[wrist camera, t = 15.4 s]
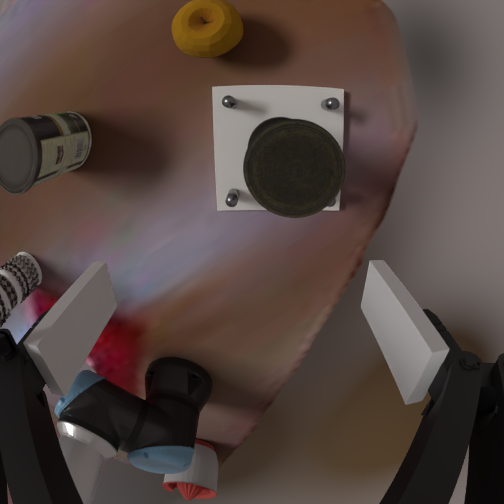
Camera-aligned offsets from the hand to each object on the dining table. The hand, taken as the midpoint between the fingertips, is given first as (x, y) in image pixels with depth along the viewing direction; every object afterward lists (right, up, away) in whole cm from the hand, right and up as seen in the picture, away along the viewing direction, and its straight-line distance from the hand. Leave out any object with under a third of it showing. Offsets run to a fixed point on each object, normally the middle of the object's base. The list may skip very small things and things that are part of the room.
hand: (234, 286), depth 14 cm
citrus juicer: (-17, -59, +63) cm, 87 cm away
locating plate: (+5, +16, +26) cm, 31 cm away
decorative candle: (-47, -2, +36) cm, 59 cm away
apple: (-5, +32, +19) cm, 37 cm away
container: (+5, +16, +25) cm, 30 cm away
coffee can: (-29, +20, +25) cm, 44 cm away
